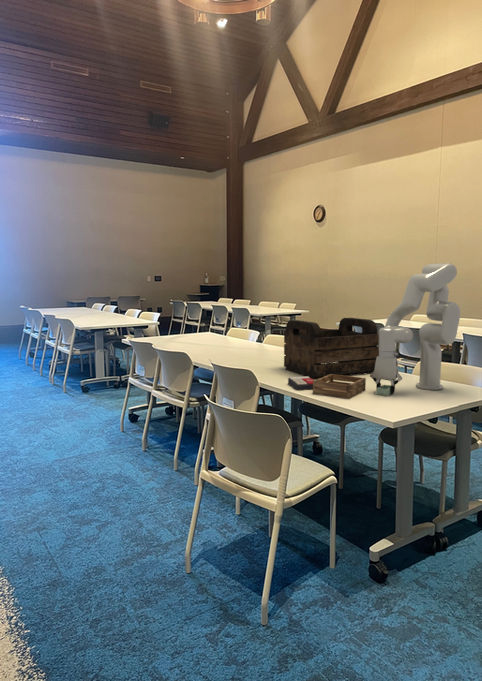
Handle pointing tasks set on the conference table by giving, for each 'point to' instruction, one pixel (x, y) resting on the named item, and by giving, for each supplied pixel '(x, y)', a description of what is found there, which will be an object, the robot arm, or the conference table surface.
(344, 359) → the wooden crate
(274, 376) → the conference table surface
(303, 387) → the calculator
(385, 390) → the box
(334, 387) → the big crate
